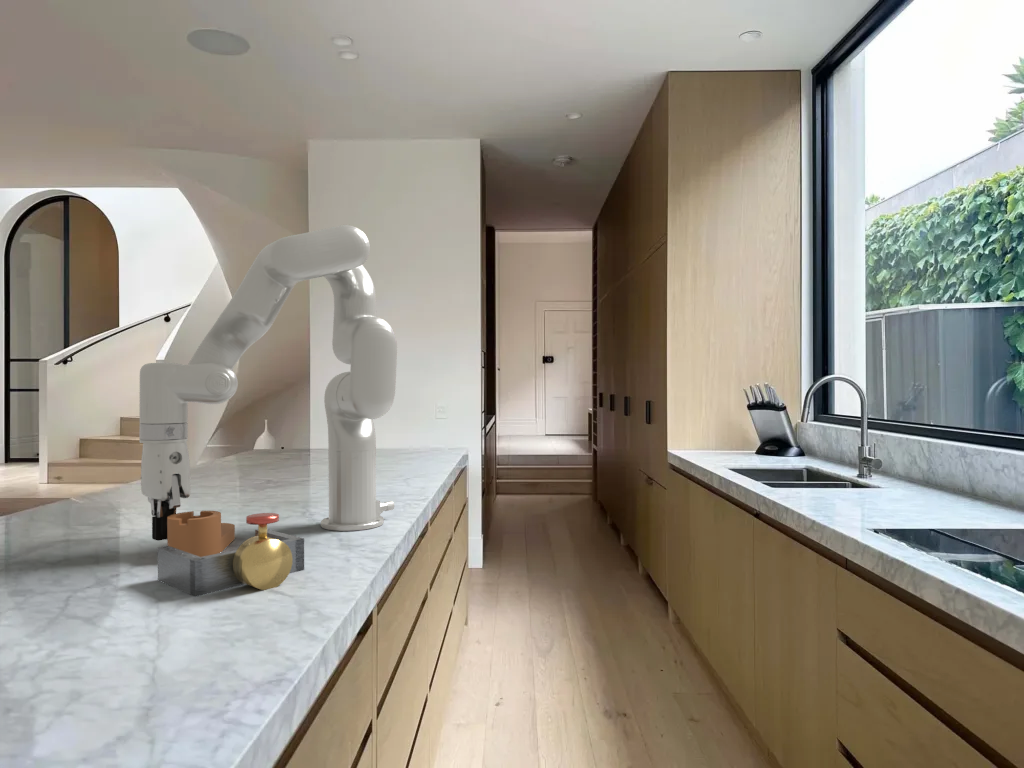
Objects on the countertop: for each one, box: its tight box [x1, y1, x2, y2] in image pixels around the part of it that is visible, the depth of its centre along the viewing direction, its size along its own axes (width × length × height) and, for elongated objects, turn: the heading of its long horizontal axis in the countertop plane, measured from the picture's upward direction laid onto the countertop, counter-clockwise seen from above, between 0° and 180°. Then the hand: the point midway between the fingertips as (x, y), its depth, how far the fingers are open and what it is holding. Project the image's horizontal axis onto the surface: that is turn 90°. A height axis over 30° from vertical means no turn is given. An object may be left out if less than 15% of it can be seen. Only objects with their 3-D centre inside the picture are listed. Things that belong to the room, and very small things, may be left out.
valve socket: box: [157, 512, 305, 598], centre depth 101 cm, size 17×17×10 cm
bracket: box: [166, 510, 236, 557], centre depth 120 cm, size 18×8×7 cm, turn 9°
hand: (163, 538), depth 118 cm, fingers closed
